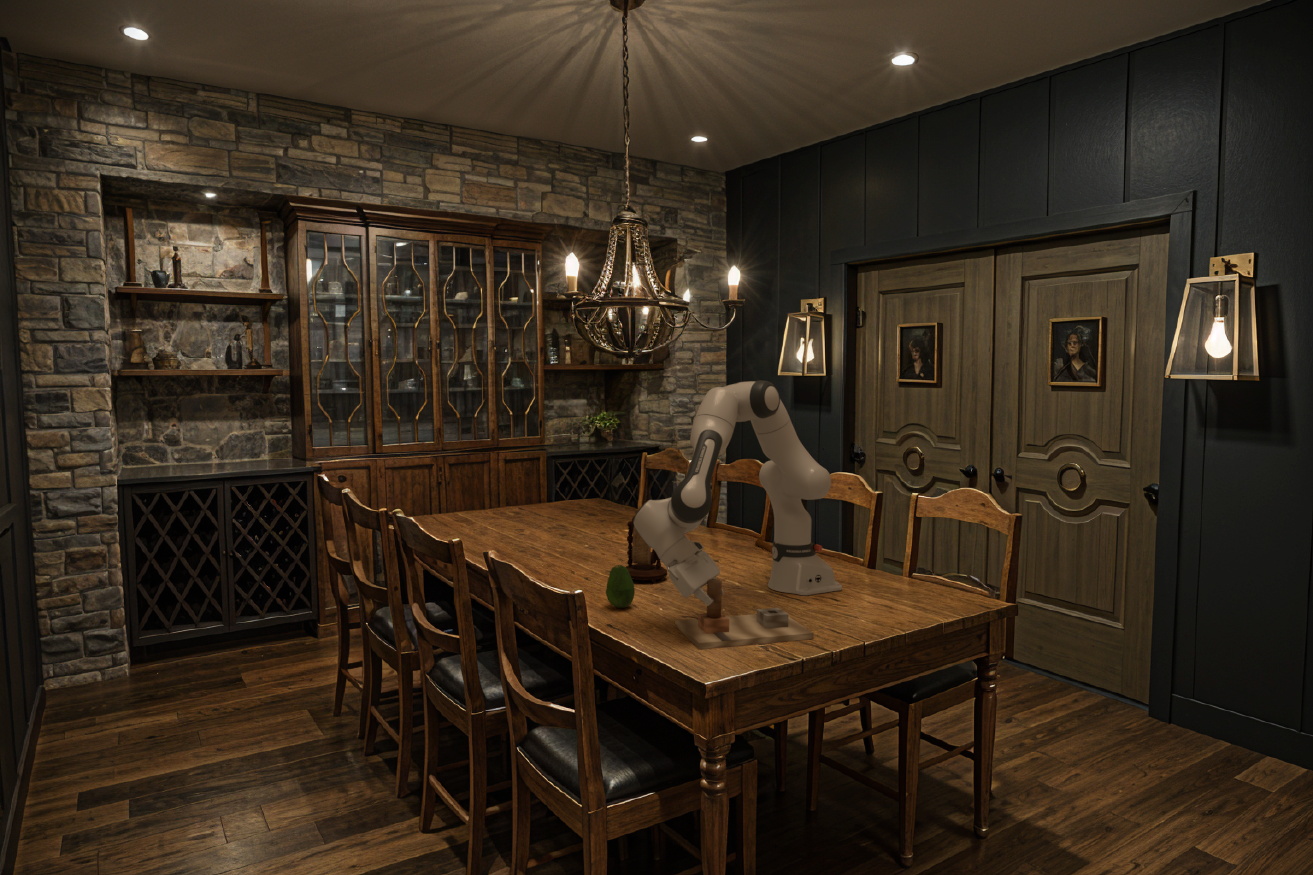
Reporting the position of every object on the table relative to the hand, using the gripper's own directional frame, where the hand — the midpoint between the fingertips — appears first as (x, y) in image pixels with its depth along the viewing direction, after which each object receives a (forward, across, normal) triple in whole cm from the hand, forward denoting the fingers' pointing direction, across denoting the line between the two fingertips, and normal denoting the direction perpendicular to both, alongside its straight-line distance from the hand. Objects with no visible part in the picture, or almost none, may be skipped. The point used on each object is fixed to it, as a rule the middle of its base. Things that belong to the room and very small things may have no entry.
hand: (716, 599), depth 198 cm
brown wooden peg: (+5, 0, +6) cm, 7 cm away
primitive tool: (-2, +99, +16) cm, 101 cm away
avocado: (-16, +10, +29) cm, 35 cm away
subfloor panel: (+10, +5, +2) cm, 12 cm away
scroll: (-21, +42, +34) cm, 58 cm away
